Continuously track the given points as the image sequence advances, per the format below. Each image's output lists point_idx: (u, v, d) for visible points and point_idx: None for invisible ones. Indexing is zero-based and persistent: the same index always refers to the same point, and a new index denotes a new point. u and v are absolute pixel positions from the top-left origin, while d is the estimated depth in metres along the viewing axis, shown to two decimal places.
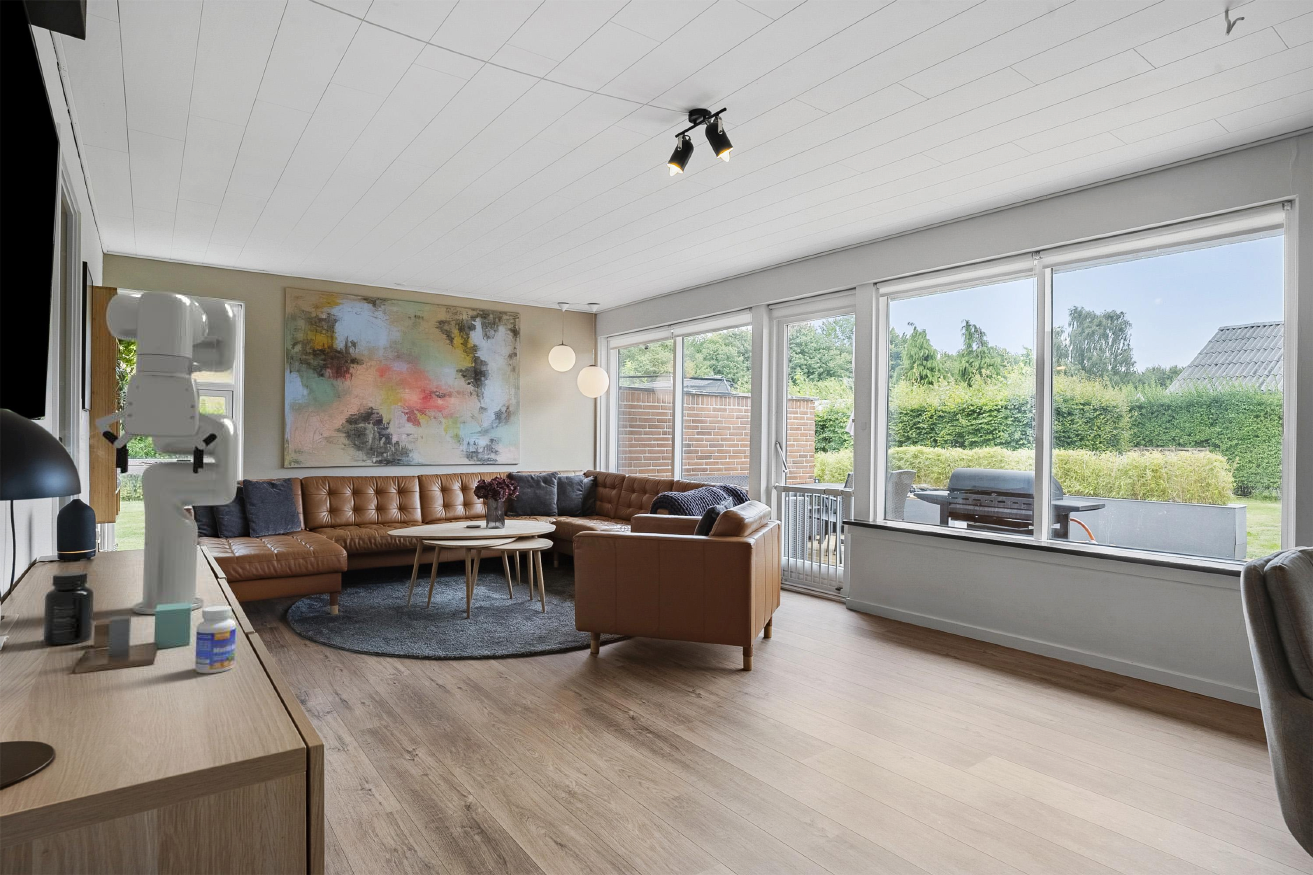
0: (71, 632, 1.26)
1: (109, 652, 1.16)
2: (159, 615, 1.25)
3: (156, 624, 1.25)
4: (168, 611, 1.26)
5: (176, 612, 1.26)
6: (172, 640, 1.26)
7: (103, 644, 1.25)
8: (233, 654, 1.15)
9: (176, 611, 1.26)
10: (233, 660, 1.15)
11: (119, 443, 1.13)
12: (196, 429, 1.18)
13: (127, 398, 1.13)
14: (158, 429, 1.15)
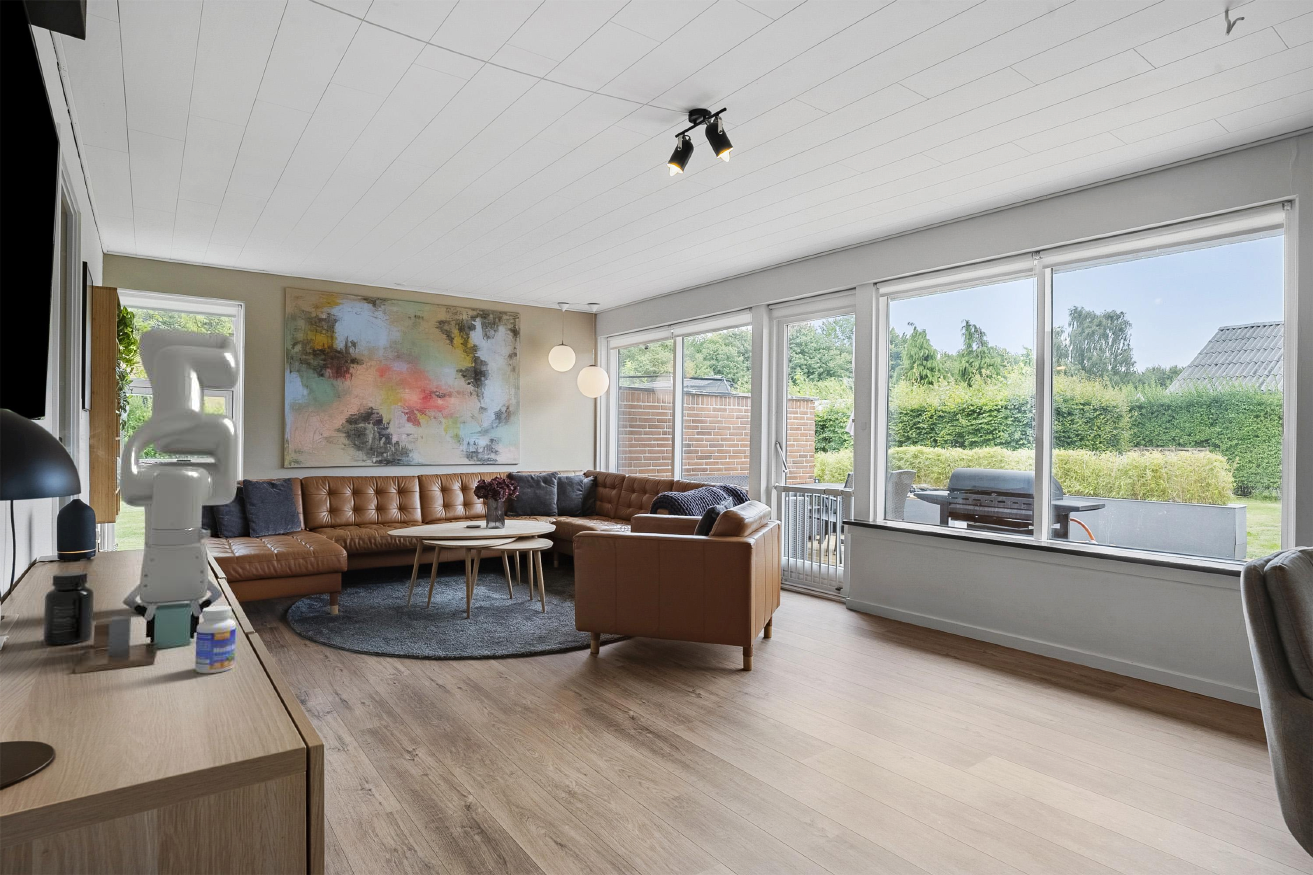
0: (71, 632, 1.26)
1: (109, 652, 1.16)
2: (159, 615, 1.25)
3: (156, 624, 1.25)
4: (168, 611, 1.26)
5: (176, 612, 1.26)
6: (172, 640, 1.26)
7: (103, 644, 1.25)
8: (233, 654, 1.15)
9: (176, 611, 1.26)
10: (233, 660, 1.15)
11: (148, 615, 1.25)
12: (205, 592, 1.29)
13: (143, 570, 1.24)
14: (171, 595, 1.26)
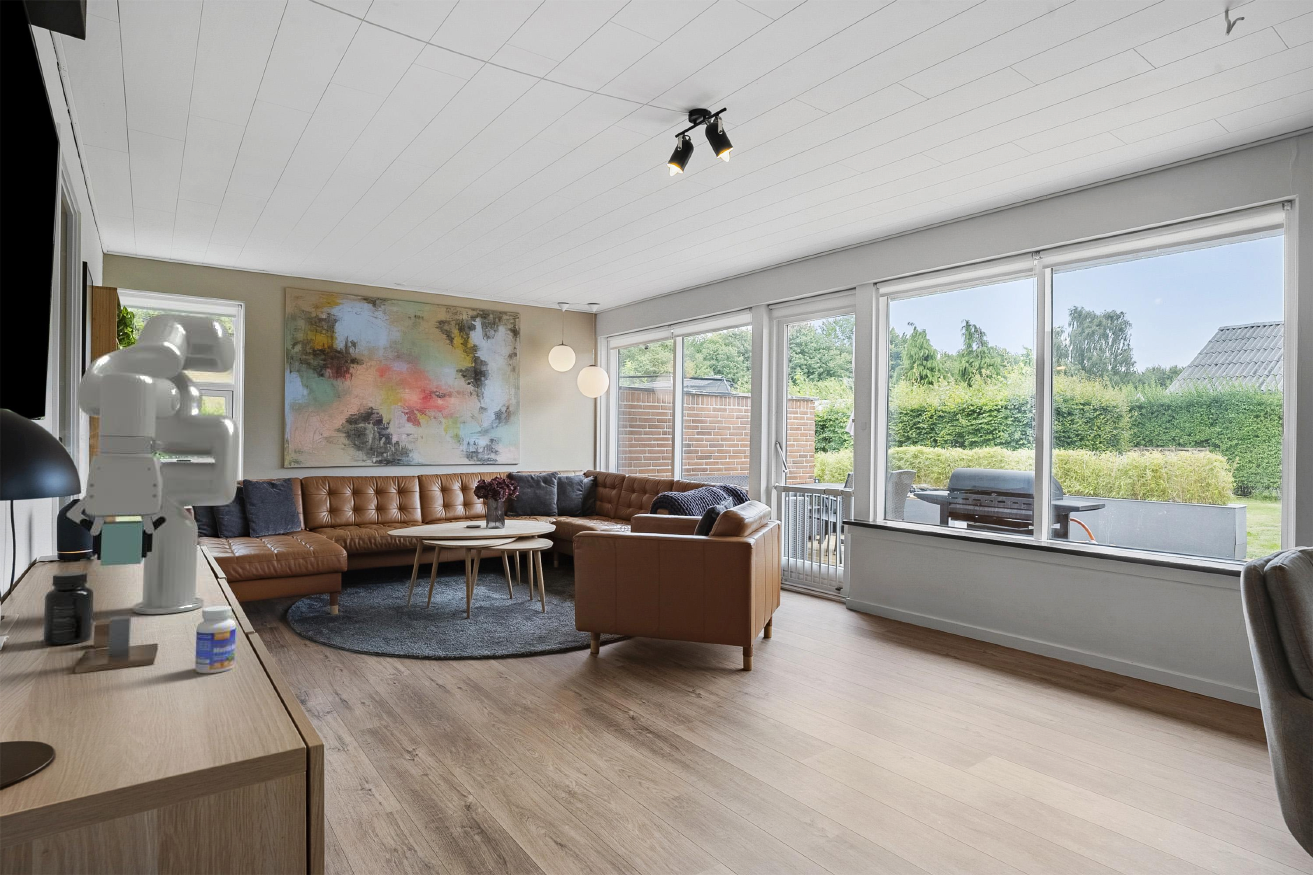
0: (71, 632, 1.26)
1: (109, 652, 1.16)
2: (106, 529, 1.15)
3: (103, 539, 1.14)
4: (117, 525, 1.15)
5: (126, 527, 1.16)
6: (121, 558, 1.16)
7: (103, 644, 1.25)
8: (233, 654, 1.15)
9: (126, 526, 1.16)
10: (233, 660, 1.15)
11: (95, 530, 1.15)
12: (158, 507, 1.19)
13: (89, 480, 1.14)
14: (120, 509, 1.16)
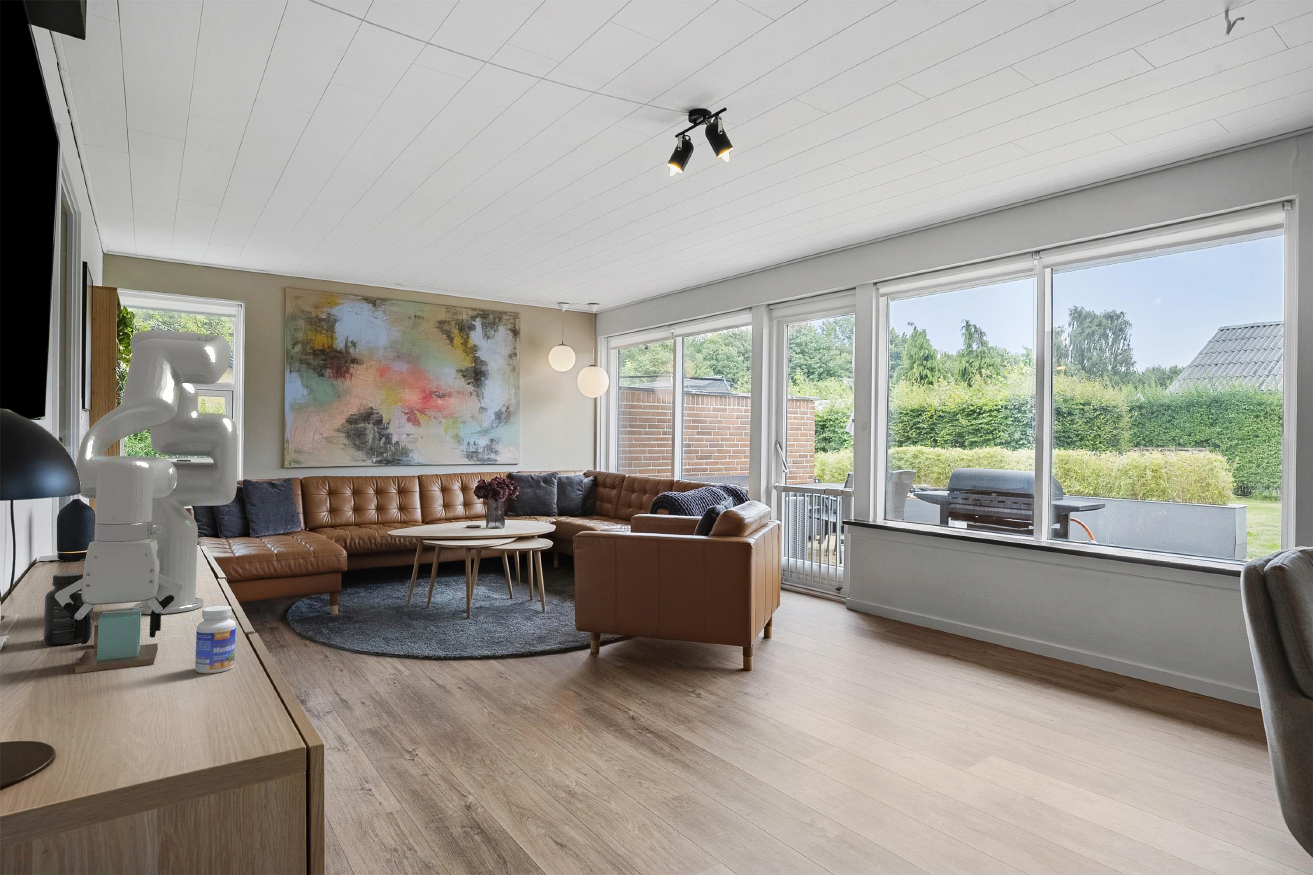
0: (71, 632, 1.26)
1: None
2: (103, 624, 1.15)
3: (99, 634, 1.14)
4: (113, 619, 1.15)
5: (122, 620, 1.16)
6: (118, 651, 1.16)
7: None
8: (233, 654, 1.15)
9: (122, 619, 1.16)
10: (233, 660, 1.15)
11: (80, 614, 1.14)
12: (155, 592, 1.19)
13: (85, 568, 1.14)
14: (116, 596, 1.16)
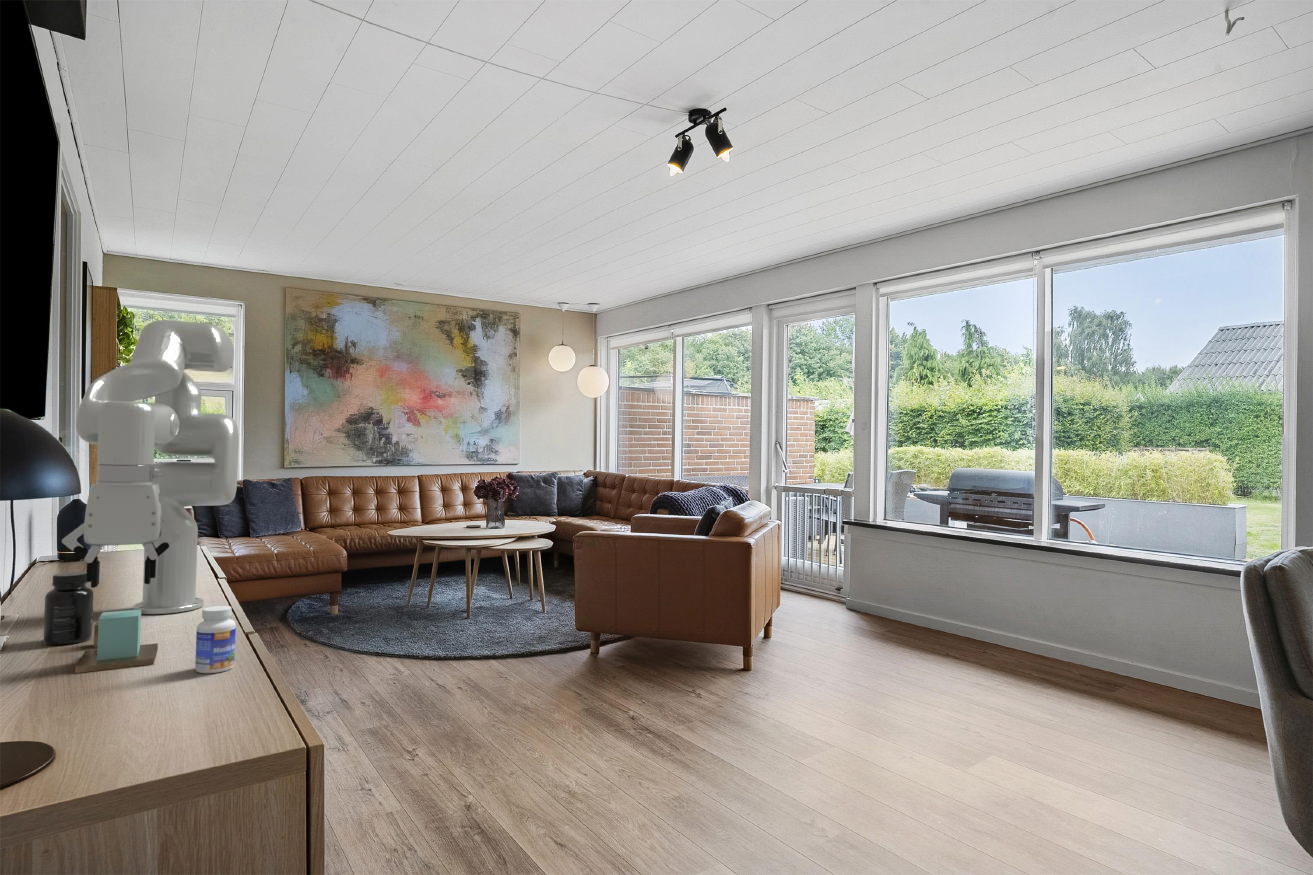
0: (71, 632, 1.26)
1: None
2: (103, 624, 1.15)
3: (99, 634, 1.14)
4: (113, 619, 1.15)
5: (122, 620, 1.16)
6: (118, 651, 1.16)
7: None
8: (233, 654, 1.15)
9: (122, 619, 1.16)
10: (233, 660, 1.15)
11: (89, 558, 1.15)
12: (157, 535, 1.19)
13: (87, 509, 1.14)
14: (119, 538, 1.16)
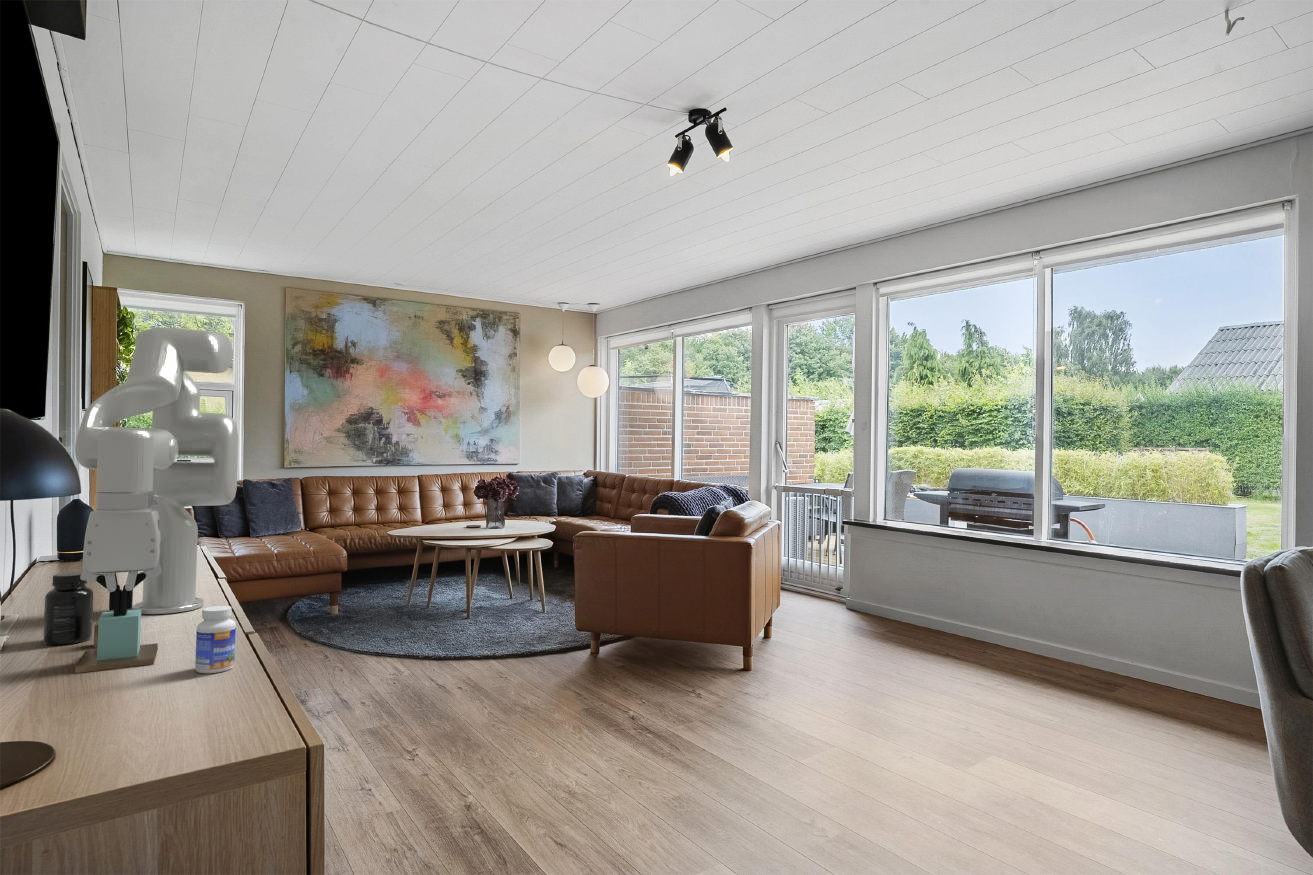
0: (71, 632, 1.26)
1: None
2: (103, 624, 1.15)
3: (99, 634, 1.14)
4: (113, 619, 1.15)
5: (122, 620, 1.16)
6: (118, 651, 1.16)
7: None
8: (233, 654, 1.15)
9: (122, 619, 1.16)
10: (233, 660, 1.15)
11: (111, 586, 1.16)
12: (156, 562, 1.19)
13: (86, 537, 1.14)
14: (118, 565, 1.16)
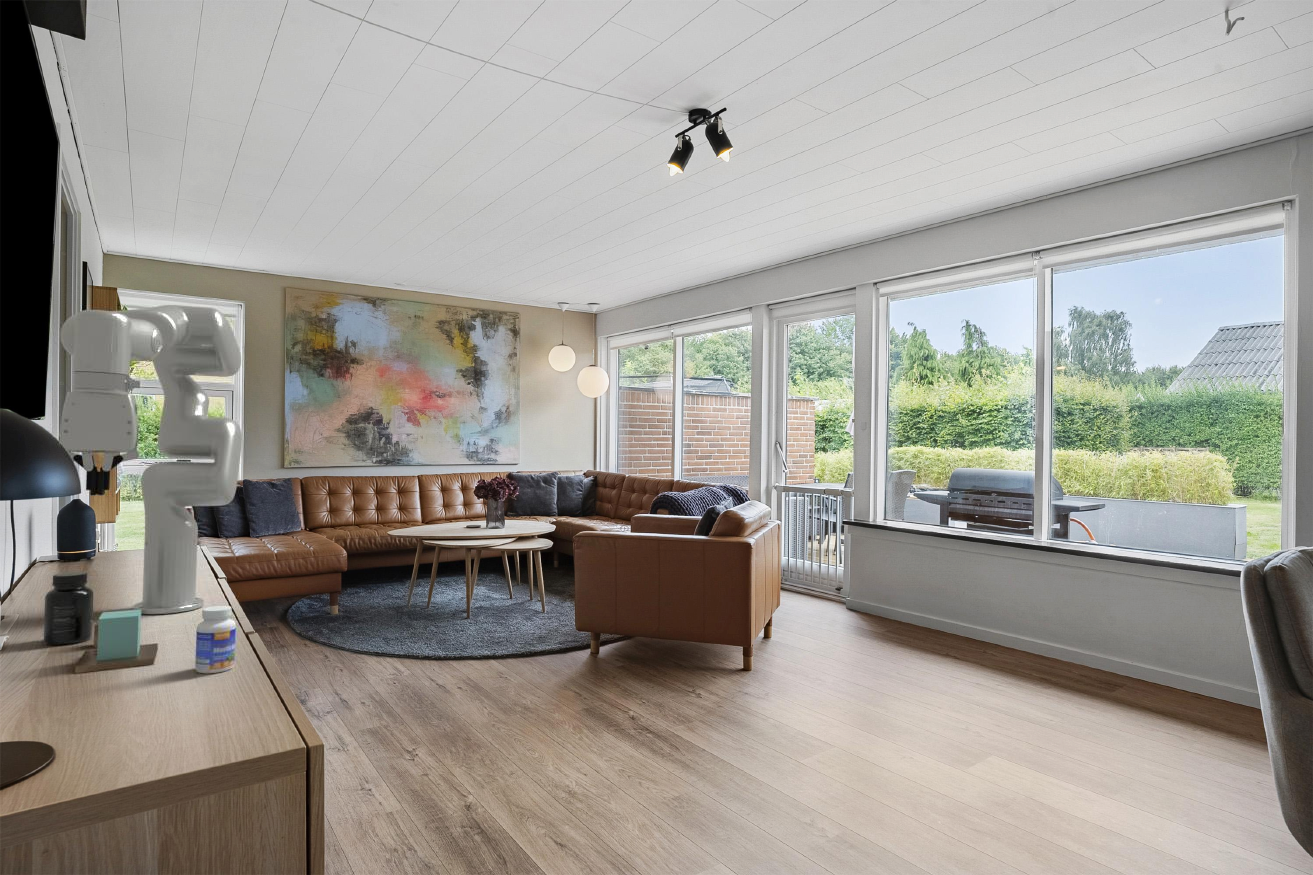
0: (71, 632, 1.26)
1: None
2: (103, 624, 1.15)
3: (99, 634, 1.14)
4: (113, 619, 1.15)
5: (122, 620, 1.16)
6: (118, 651, 1.16)
7: None
8: (233, 654, 1.15)
9: (122, 619, 1.16)
10: (233, 660, 1.15)
11: (88, 466, 1.18)
12: (133, 444, 1.21)
13: (63, 415, 1.16)
14: (94, 445, 1.18)
